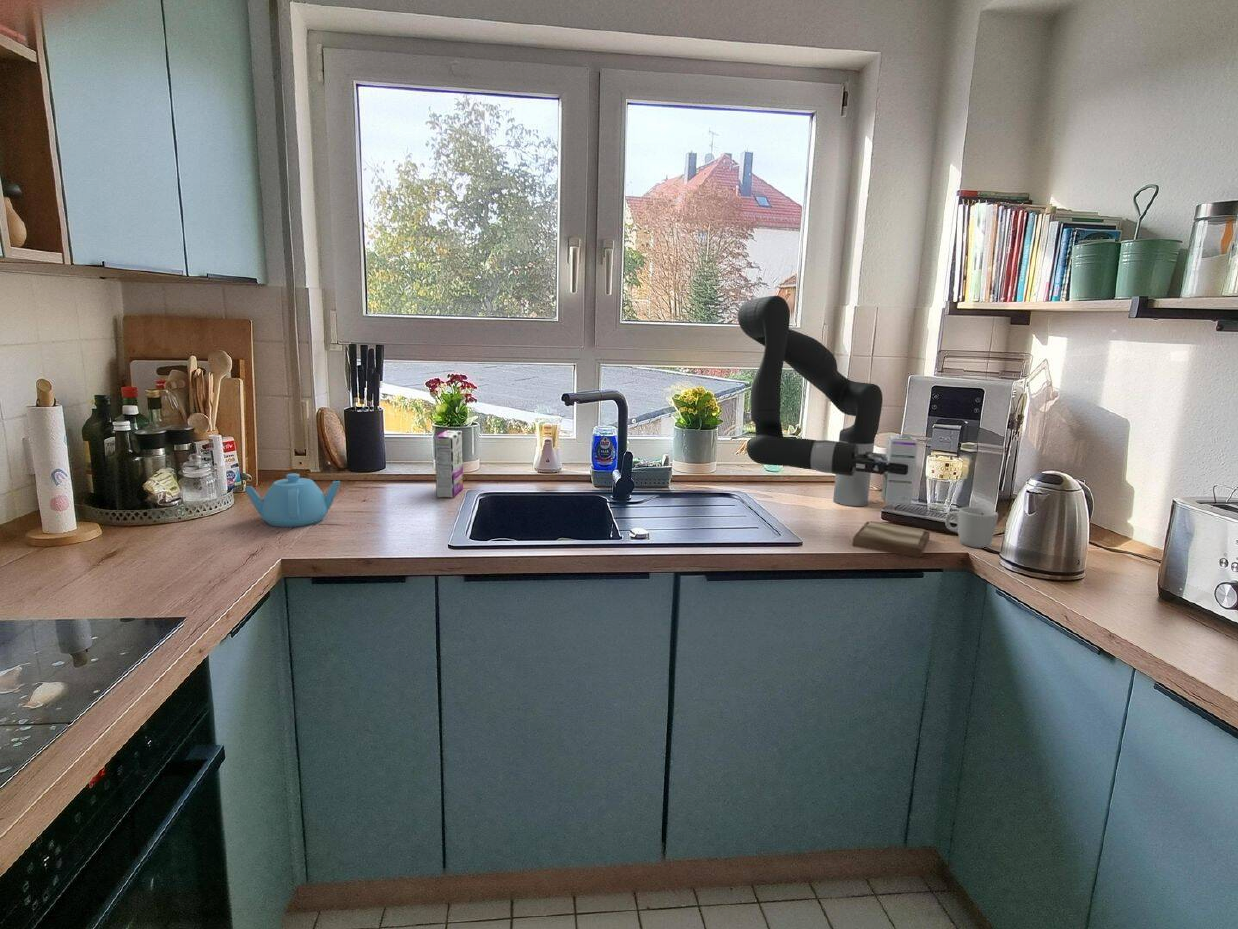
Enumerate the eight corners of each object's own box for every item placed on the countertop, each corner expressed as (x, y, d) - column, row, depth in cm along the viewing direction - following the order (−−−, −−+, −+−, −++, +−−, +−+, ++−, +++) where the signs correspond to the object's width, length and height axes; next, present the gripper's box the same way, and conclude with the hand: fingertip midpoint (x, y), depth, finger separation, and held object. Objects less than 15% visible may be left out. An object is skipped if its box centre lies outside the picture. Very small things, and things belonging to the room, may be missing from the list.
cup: (937, 541, 163) (941, 508, 161) (949, 535, 169) (953, 502, 167) (987, 553, 156) (992, 517, 154) (998, 545, 162) (1003, 511, 160)
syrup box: (911, 505, 155) (920, 440, 153) (883, 502, 157) (891, 437, 154) (906, 499, 161) (915, 436, 158) (879, 496, 162) (887, 434, 159)
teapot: (241, 524, 158) (237, 476, 156) (293, 508, 172) (291, 465, 170) (295, 533, 153) (292, 484, 151) (344, 516, 167) (342, 471, 165)
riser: (866, 529, 171) (867, 519, 170) (928, 539, 164) (930, 529, 164) (852, 546, 157) (853, 535, 157) (920, 557, 151) (921, 546, 150)
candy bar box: (445, 488, 198) (444, 429, 195) (463, 488, 198) (463, 430, 195) (434, 497, 187) (433, 436, 184) (453, 498, 187) (453, 436, 184)
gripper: (828, 445, 157) (908, 455, 149) (842, 437, 169) (916, 446, 162) (825, 478, 159) (903, 489, 151) (839, 468, 171) (912, 478, 163)
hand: (910, 467), depth 156 cm, fingers closed on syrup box, 7 cm apart
